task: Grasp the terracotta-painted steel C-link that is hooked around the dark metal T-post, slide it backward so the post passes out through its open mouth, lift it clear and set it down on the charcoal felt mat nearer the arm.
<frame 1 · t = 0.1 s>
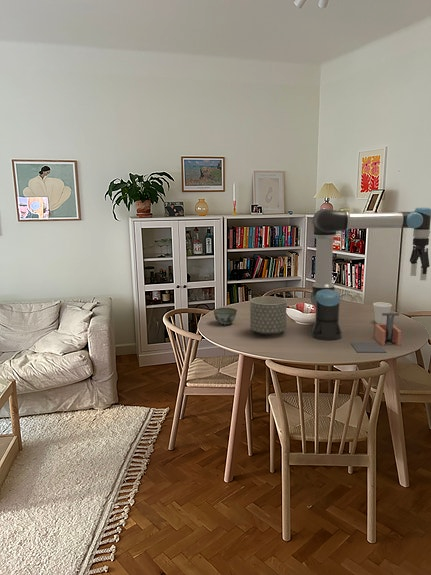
hand: (418, 278, 222), 28 cm above the table, fingers open, 13 cm apart
mat: (367, 347, 199), on the table
bowl: (225, 324, 244), on the table
cup: (381, 323, 239), on the table
stand: (388, 342, 205), on the table
c link: (386, 341, 208), on the table
planter: (268, 333, 225), on the table
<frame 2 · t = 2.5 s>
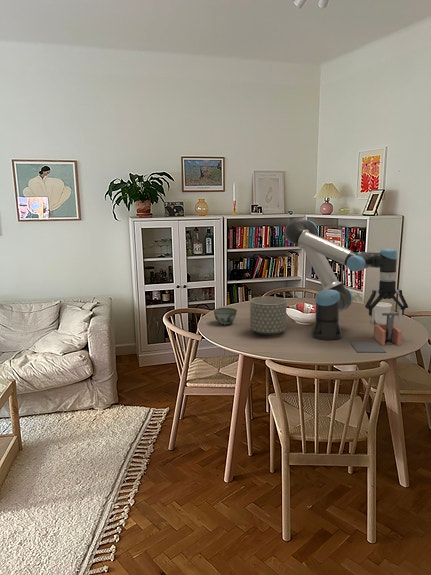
hand: (385, 321, 211), 9 cm above the table, fingers open, 13 cm apart
nothing on the table moved.
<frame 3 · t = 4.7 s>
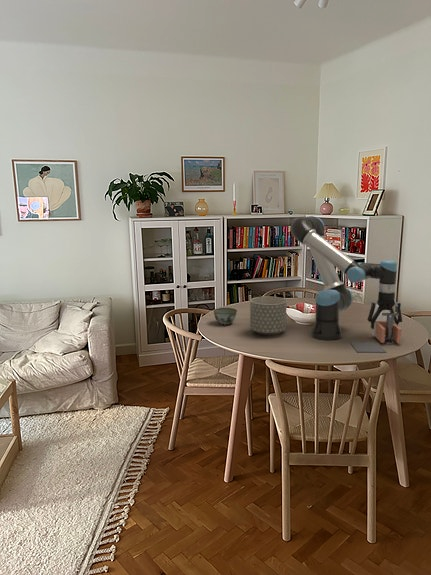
hand: (383, 335, 213), 2 cm above the table, fingers closed on c link, 9 cm apart
c link: (386, 338, 208), point 1 cm above the table, touching gripper
everything else where it was.
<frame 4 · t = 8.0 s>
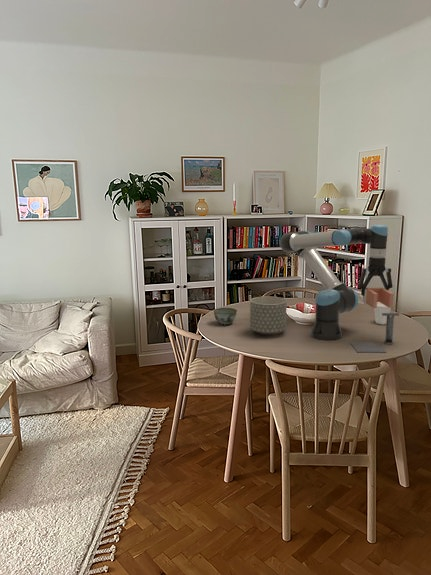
hand: (373, 301, 209), 19 cm above the table, fingers closed on c link, 9 cm apart
c link: (377, 304, 205), point 19 cm above the table, touching gripper
everything else where it was.
when the fingers open (2 cm above the table, at t = 11.2 s): c link stays where it is, resting on mat.
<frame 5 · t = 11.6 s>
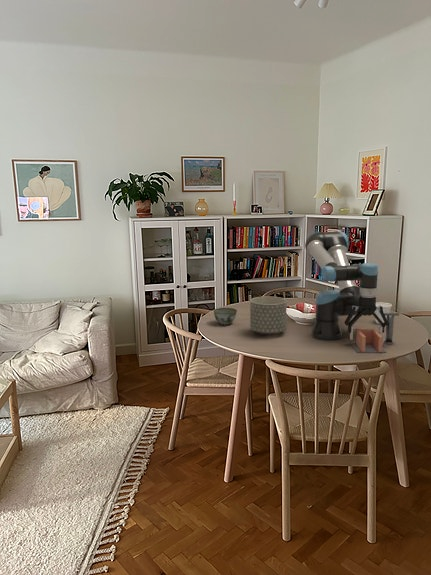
hand: (365, 339, 203), 3 cm above the table, fingers open, 13 cm apart
c link: (367, 346, 199), resting on mat
everything else where it was.
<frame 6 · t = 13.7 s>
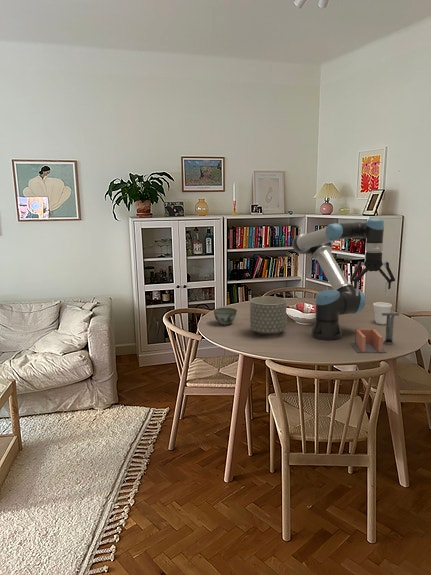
hand: (371, 295, 203), 23 cm above the table, fingers open, 13 cm apart
nothing on the table moved.
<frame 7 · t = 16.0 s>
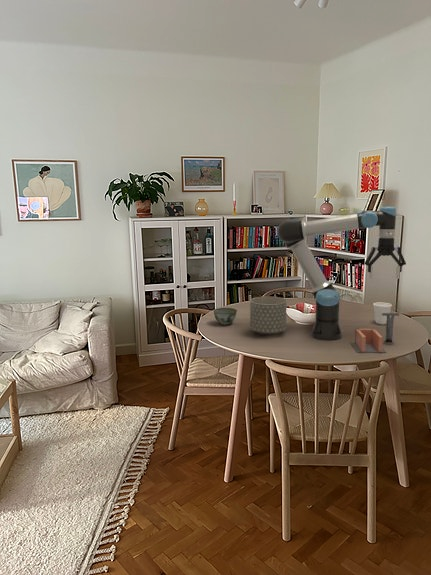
hand: (384, 278, 218), 29 cm above the table, fingers open, 13 cm apart
nothing on the table moved.
at the end: c link inside the target area on the mat (0.0 cm from its centre), point 0.5 cm above the mat's base; c link tilted 0°; the gripper is holding nothing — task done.
